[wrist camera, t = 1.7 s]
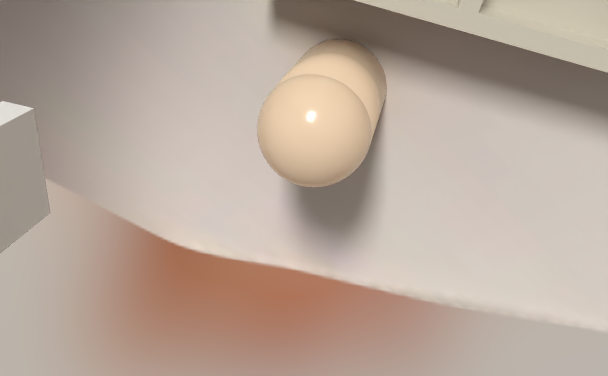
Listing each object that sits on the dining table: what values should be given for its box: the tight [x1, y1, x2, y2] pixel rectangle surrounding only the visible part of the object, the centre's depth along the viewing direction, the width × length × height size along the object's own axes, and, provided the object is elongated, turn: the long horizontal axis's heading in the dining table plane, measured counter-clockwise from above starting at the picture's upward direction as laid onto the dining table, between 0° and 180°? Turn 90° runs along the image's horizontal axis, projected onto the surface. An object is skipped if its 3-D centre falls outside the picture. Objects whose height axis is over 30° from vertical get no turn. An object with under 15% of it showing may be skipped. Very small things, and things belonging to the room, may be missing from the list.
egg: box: [257, 39, 387, 187], centre depth 22 cm, size 5×5×8 cm
